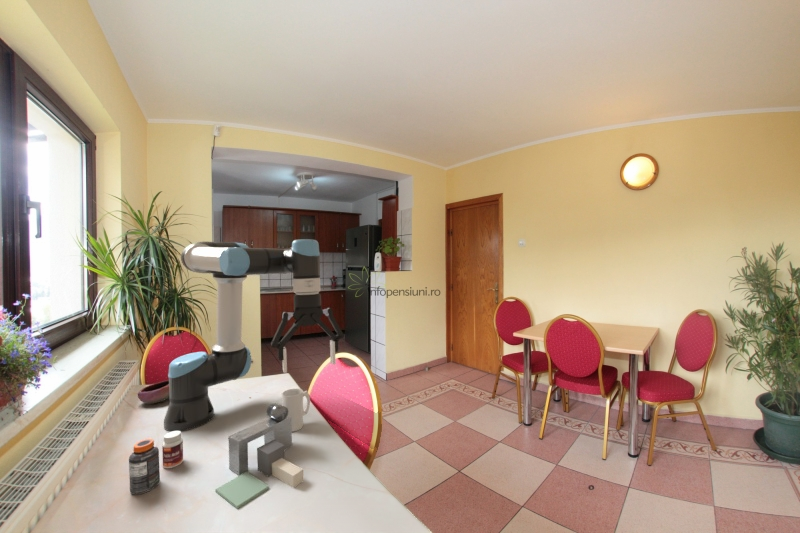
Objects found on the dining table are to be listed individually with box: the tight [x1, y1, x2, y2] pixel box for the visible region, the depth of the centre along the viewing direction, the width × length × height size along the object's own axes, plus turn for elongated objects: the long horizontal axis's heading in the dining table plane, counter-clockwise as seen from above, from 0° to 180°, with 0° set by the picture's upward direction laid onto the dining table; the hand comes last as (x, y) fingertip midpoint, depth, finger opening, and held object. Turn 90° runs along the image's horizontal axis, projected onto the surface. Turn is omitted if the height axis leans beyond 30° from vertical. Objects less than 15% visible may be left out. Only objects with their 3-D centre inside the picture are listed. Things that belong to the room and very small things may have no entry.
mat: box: [215, 471, 270, 510], centre depth 79 cm, size 10×8×1 cm
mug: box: [281, 388, 311, 432], centre depth 111 cm, size 10×7×12 cm, turn 139°
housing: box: [228, 402, 293, 476], centre depth 93 cm, size 5×16×13 cm, turn 145°
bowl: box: [137, 379, 170, 404], centre depth 135 cm, size 16×13×8 cm
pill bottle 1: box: [128, 438, 161, 495], centre depth 81 cm, size 6×6×11 cm
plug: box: [256, 440, 304, 489], centre depth 85 cm, size 15×5×6 cm, turn 55°
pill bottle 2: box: [161, 431, 184, 469], centre depth 91 cm, size 5×5×8 cm
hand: (309, 367), depth 92 cm, fingers open, 13 cm apart
